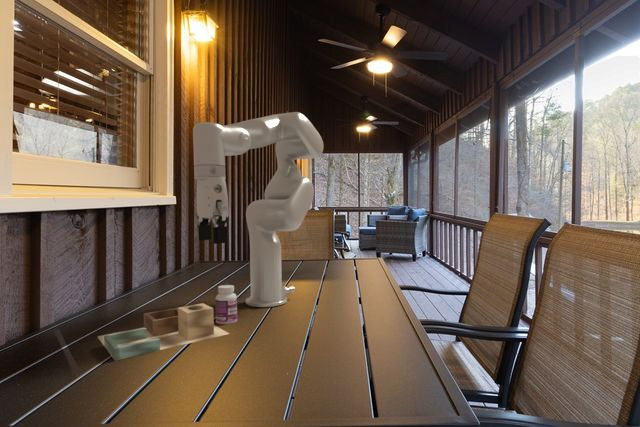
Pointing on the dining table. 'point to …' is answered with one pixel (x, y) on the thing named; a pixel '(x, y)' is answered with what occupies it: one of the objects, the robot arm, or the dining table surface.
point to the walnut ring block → (161, 322)
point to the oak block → (195, 321)
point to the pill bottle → (226, 305)
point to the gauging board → (146, 342)
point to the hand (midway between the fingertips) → (212, 241)
